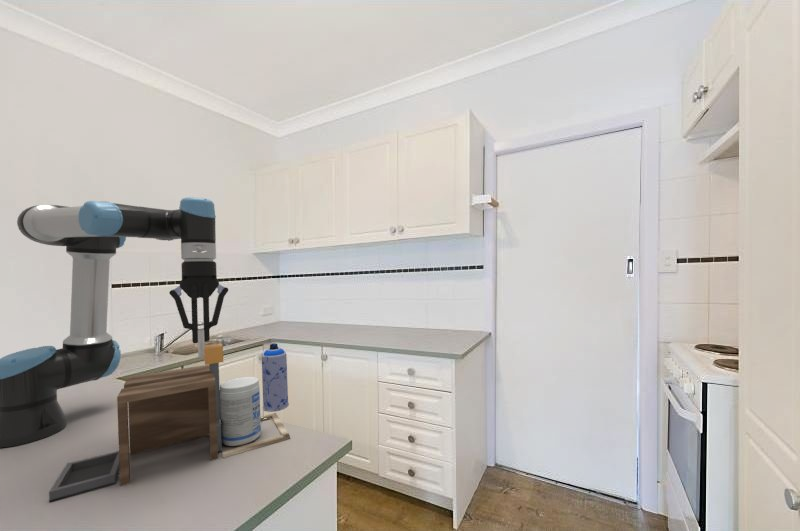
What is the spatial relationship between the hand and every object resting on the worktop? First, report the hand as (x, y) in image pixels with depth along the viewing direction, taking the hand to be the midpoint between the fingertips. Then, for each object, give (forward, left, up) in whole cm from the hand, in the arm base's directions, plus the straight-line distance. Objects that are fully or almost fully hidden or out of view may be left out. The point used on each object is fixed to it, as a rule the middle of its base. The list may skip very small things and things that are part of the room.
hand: (201, 355), depth 86 cm
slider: (0, +3, -23) cm, 23 cm away
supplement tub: (0, +8, -23) cm, 25 cm away
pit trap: (0, -22, -23) cm, 31 cm away
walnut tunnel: (0, -7, -23) cm, 24 cm away
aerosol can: (-16, +20, -23) cm, 35 cm away
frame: (0, +11, -23) cm, 26 cm away
